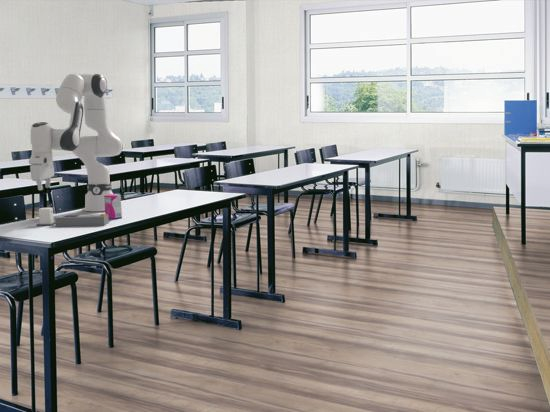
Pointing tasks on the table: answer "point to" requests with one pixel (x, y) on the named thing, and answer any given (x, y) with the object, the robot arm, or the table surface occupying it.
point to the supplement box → (113, 206)
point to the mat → (45, 224)
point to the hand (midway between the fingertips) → (44, 188)
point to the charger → (46, 216)
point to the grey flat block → (82, 220)
